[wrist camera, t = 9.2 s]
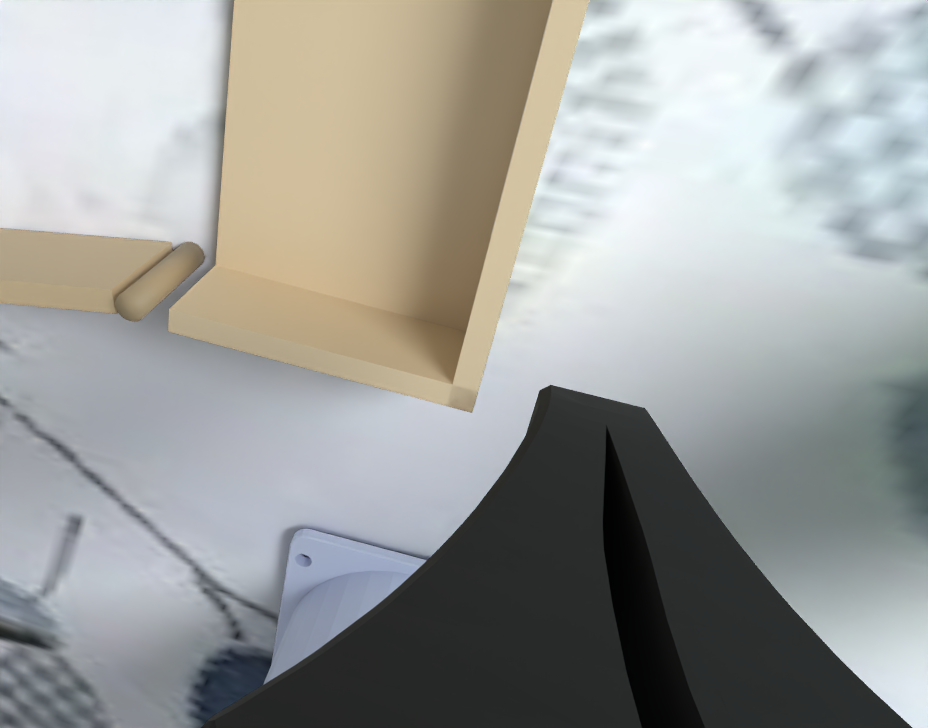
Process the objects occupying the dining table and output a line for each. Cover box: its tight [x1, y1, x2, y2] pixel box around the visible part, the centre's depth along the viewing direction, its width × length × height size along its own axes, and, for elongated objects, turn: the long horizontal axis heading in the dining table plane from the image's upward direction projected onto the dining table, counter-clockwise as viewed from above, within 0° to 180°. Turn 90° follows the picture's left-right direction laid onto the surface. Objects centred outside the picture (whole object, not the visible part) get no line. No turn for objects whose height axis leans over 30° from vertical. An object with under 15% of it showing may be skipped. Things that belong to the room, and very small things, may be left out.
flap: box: [0, 228, 205, 322], centre depth 19 cm, size 6×1×3 cm, turn 88°
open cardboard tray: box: [168, 0, 589, 413], centre depth 16 cm, size 14×7×3 cm, turn 167°
